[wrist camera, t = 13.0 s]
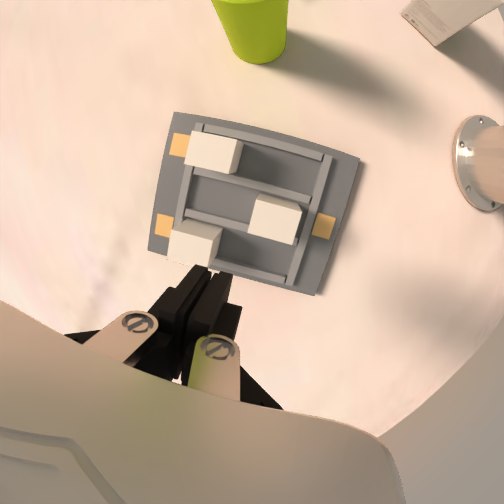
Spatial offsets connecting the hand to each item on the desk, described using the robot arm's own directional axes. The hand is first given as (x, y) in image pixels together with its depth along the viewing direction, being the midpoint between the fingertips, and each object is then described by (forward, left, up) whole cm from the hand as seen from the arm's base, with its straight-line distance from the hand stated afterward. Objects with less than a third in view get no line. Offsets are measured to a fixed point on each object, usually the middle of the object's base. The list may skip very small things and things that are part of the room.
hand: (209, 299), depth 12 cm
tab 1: (+4, -6, -18) cm, 19 cm away
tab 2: (+4, +3, -18) cm, 19 cm away
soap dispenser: (+4, -19, -19) cm, 28 cm away
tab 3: (-2, -1, -18) cm, 18 cm away
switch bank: (+1, -1, -19) cm, 19 cm away
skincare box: (-15, -33, -19) cm, 41 cm away
